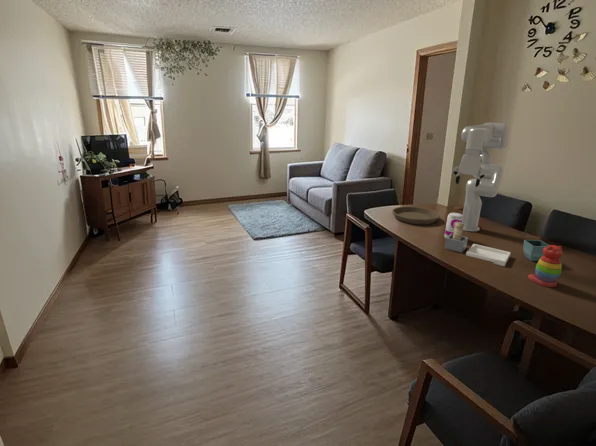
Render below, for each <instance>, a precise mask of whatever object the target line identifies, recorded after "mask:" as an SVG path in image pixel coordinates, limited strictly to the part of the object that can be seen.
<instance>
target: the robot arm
mask: <svg viewBox="0 0 596 446" xmlns="http://www.w3.org/2000/svg"><path fill="white" fill-rule="evenodd" d="M460 134H461V135H460V137H461V140H462V141H463V142H465V143H466V145H465V149H464V154H462V157H461V161H460V163H459V165H456V166H453V167H452V171H453V172H452V173H453V174H454V175H455V184H456V185H458V184H460V180H461V175H468V176H469V175H470V176H473V177H474V178H471V179H469V180H468V181H467V182H466V183H465V199H464V205H463V210H462V216H463V222H462V223H464V228H463V231H466V232H472V233H473V232H475V233H476V232H479V231H480V229H481V228H480V226H478V225H479V220H480V215H481V209H482V204H483V201H482V199H481V197H486V198H487V197H488V198H494V197H496V196H497V194H498V192H499V190H500V189H499V188H500V185H501V181H502V177H503V172H504V169H503V167H502V165H500V164H492V161H493V155H492V153H490V151H489V150H505V149H506V148H507V147H508V144H509V127H508V125H507V124H506V123H504V122H484V123H483V124H475V125H468V126H465V127H464V128H463V129H462V131H461V133H460ZM457 169H458V171H457ZM480 196H481V197H480Z"/></svg>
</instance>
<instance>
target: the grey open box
mask: <svg viewBox="0 0 596 446" xmlns="http://www.w3.org/2000/svg"><path fill="white" fill-rule="evenodd" d="M452 238H453V234H450V235H449V236H448V237H447V238H445V242H444V246H443V247H444V249H445V250H450V251H453V252H458V253H461V254H462V253H463V252H464V251H465V250H466V249H467V246H468V240H469V237H468V236H464V235H462V239H461V241H460V240H455V239H452Z"/></svg>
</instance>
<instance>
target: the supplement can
mask: <svg viewBox="0 0 596 446" xmlns="http://www.w3.org/2000/svg"><path fill="white" fill-rule="evenodd" d="M462 215H463V213H462V214H461V213H459V212H449V213H448V215H447V219H446V225H445V231H444V236H443V237H444V239H446V238H447V237H448V236H449V235H450V234H453V233H454V227H455V223H456V222H460V223H462V222H463V216H462Z"/></svg>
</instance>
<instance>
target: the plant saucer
mask: <svg viewBox="0 0 596 446" xmlns="http://www.w3.org/2000/svg"><path fill="white" fill-rule="evenodd" d="M391 212H392V215H393V216H394V217H395V219H396V220H398V221H400V222H402V223H406V224H412V225H429V224H431V225H432V224H433V223H435V222H436V221H438V220H439V219H440V216H441V215H440V213H439V212H437V211H435V210H433V209H430V208H425V207H419V206H398V207H394V208H393V209H391Z"/></svg>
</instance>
